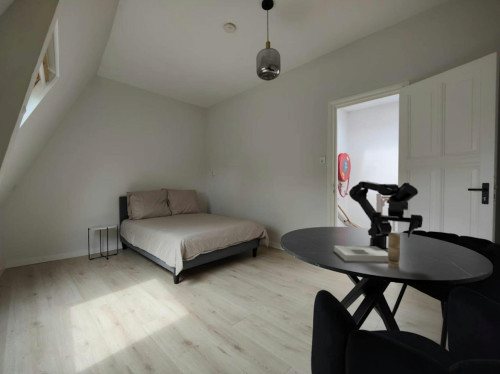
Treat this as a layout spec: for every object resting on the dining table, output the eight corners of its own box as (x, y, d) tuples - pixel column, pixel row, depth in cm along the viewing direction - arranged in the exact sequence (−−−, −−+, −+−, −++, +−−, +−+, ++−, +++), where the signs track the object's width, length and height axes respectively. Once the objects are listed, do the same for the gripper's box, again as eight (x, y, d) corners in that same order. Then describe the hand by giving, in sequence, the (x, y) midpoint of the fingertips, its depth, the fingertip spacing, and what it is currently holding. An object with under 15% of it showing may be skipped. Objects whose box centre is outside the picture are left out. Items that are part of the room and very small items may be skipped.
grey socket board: (375, 251, 111) (376, 246, 111) (393, 261, 97) (393, 255, 97) (334, 250, 111) (334, 245, 111) (345, 261, 97) (345, 255, 97)
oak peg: (395, 264, 94) (396, 232, 93) (401, 268, 90) (402, 235, 89) (385, 264, 94) (386, 232, 93) (391, 267, 90) (392, 234, 89)
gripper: (372, 193, 105) (369, 221, 96) (423, 195, 95) (425, 226, 86) (372, 209, 112) (370, 236, 103) (420, 212, 102) (422, 242, 93)
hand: (395, 235), depth 96 cm, fingers open, 9 cm apart
